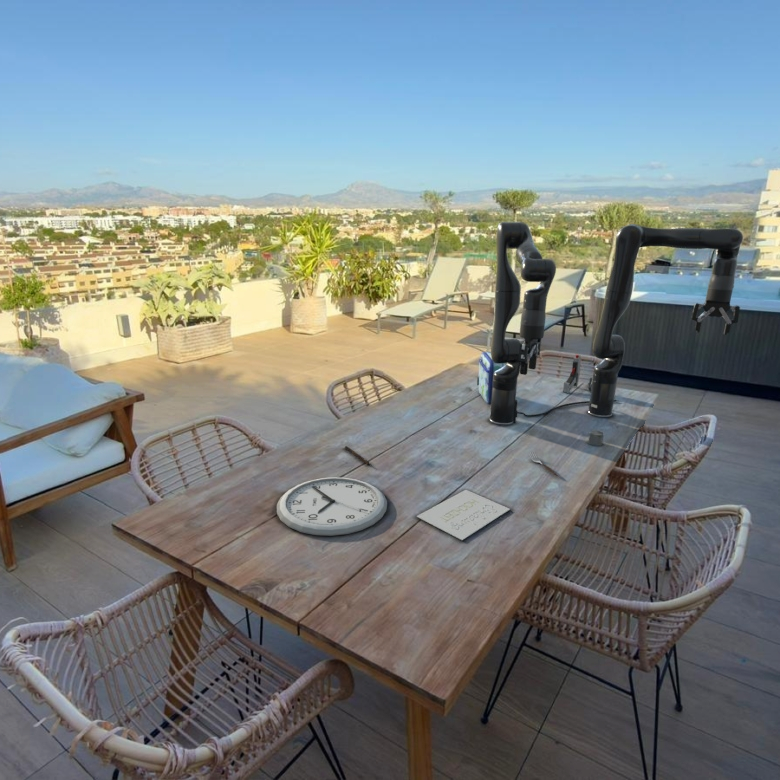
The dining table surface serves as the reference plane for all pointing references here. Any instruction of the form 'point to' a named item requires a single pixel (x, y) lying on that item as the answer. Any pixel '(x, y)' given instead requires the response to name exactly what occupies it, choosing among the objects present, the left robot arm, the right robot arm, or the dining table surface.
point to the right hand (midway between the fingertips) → (711, 333)
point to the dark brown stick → (357, 455)
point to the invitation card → (463, 514)
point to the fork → (541, 463)
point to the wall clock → (331, 506)
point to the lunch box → (487, 375)
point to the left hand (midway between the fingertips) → (527, 371)
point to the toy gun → (573, 375)
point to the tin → (595, 437)
